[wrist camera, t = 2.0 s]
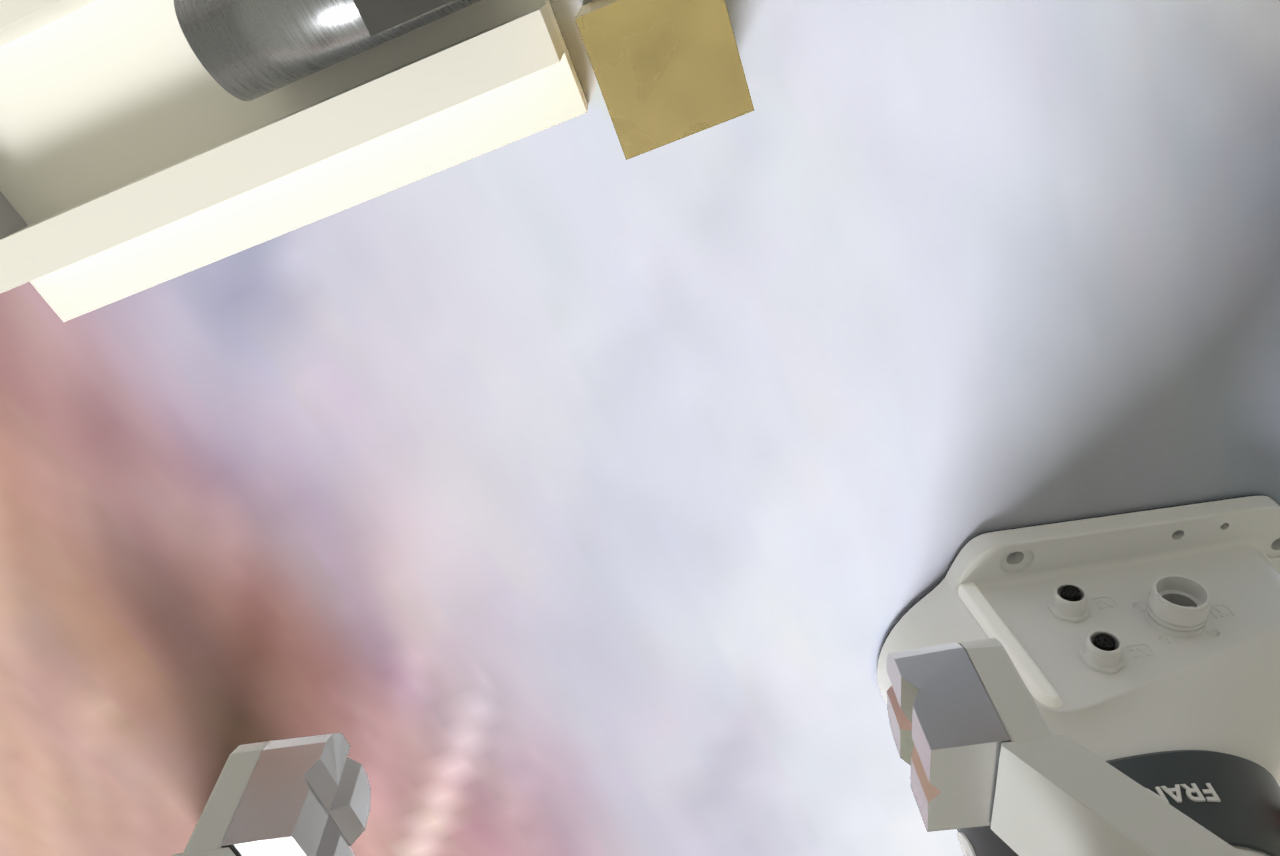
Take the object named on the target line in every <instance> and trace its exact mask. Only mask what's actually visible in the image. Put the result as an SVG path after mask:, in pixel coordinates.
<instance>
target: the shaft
mask: <svg viewBox="0 0 1280 856" xmlns="http://www.w3.org/2000/svg"><path fill="white" fill-rule="evenodd" d="M479 1H481V0H174V8H175V12H176V16H177V19H178V22H179V25H180V27H181V29H182V32H183V34H184V36H185V38H186V40H187V42H188V44H189V45H190V47H191V49H192V50H193V52H194V54H195V55H196V57H197V58H198V60H199V61H200V62H201V64H202V65H203V67H204V68H205V69H206V70H207V72H208V73H209V74H210V75H211V76H212V78H213V79H214V80H215V81H216V82H217V83H218V84H219V85H220V86H221V87H222V88H224V89H225V90H226V91H227V92H228V93H230V94H231V95H233V96H234V97H236V98H238V99H240V100H243V101H252V100H254V99H256V98H259V97H261V96H263V95H266V94H268V93H270V92H272V91H275V90H277V89H279V88H282V87H284V86H286V85H289V84H291V83H293V82H295V81H298V80H300V79H302V78H305V77H307V76H309V75H311V74H314V73H316V72H318V71H321V70H323V69H325V68H328V67H330V66H332V65H334V64H337V63H339V62H341V61H344V60H346V59H348V58H351V57H353V56H355V55H357V54H360V53H362V52H364V51H367V50H369V49H371V48H374V47H376V46H378V45H380V44H383V43H385V42H387V41H390V40H392V39H394V38H396V37H399V36H401V35H403V34H406V33H408V32H410V31H413V30H415V29H417V28H419V27H422V26H424V25H426V24H429V23H431V22H433V21H436V20H438V19H440V18H442V17H445V16H447V15H449V14H452V13H454V12H456V11H459V10H461V9H463V8H465V7H468V6H470V5H472V4H475V3H477V2H479Z"/></svg>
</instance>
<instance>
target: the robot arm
mask: <svg viewBox="0 0 1280 856" xmlns="http://www.w3.org/2000/svg"><path fill="white" fill-rule="evenodd" d="M1013 552H1014V553H1013ZM1011 553H1012V554H1011ZM877 681H878V686H879V690H880V693H881V695H882V697H883V699H884V701H885V703H886V704H887V709H888V715H889V721H890V726H891V730H892V733H893V737H894V740H895V743H896V746H897V749H898V752H899V755H900V758H902V759H903V760H904V761H905V762H907V763H908V764H909V765H911V789H912V791H913V794H914V797H915V800H916V802H917V805H918V808H919V810H920V813H921V816H922V819H923V821H924V824H925V827H926V830H927V832H930V831H940V830H950V829H957V830H958V833H957V837H958V840H959V843H960V846H961V849H962V852H963V854H964V856H1280V506H1279V505H1278V504H1277V503H1276V502H1275V501H1274V500H1273V499H1271V498H1270V497H1268V496H1249V497H1242V498H1234V499H1226V500H1219V501H1212V502H1205V503H1198V504H1190V505H1183V506H1176V507H1169V508H1162V509H1154V510H1147V511H1140V512H1133V513H1126V514H1118V515H1111V516H1104V517H1097V518H1090V519H1082V520H1075V521H1068V522H1061V523H1054V524H1046V525H1039V526H1032V527H1025V528H1017V529H1010V530H1003V531H996V532H989V533H985V534H982V535H979V536H977V537H975V538H973V539H972V540H970V541H969V542H968V543H967V544H966V545H965V546H964V547H963V549H962V550H961V551H960V553H959V554H958V556H957V557H956V559H955V560H954V562H953V564H952V565H951V567H950V569H949V571H948V573H947V574H946V576H945V578H944V579H943V580H942V581H941V582H940V584H939V585H938V586H936V587H935V588H934V589H933V590H932V591H931V592H930V593H928V594H927V595H926V596H925V597H924V598H922V599H921V600H920V601H919V602H918V603H916V604H915V605H914V606H913V607H912V608H911V609H910V610H909V611H908V612H907V613H906V614H905V615H904V616H903V617H902V618H901V619H900V620H899V622H898V623H897V624H896V625H895V627H894V628H893V629H892V631H891V632H890V634H889V636H888V637H887V639H886V641H885V643H884V645H883V648H882V650H881V653H880V656H879V660H878V665H877ZM349 749H350V745H349V743H348V742H347V740H346V739H345V737H344V736H343V734H342V733H335V734H326V735H317V736H308V737H299V738H291V739H282V740H273V741H266V742H258V743H251V744H243V745H239V746H238V747H237V748H236V749H235V750H234V751H233V752H232V753H231V754H230V755H229V757H228V759H227V761H226V763H225V765H224V767H223V770H222V772H221V774H220V776H219V778H218V780H217V782H216V784H215V786H214V789H213V791H212V793H211V795H210V797H209V799H208V801H207V803H206V806H205V808H204V810H203V812H202V814H201V816H200V818H199V820H198V822H197V825H196V827H195V829H194V831H193V833H192V835H191V837H190V839H189V841H188V844H187V846H186V848H185V850H184V852H183V853H179V854H173V855H172V856H355V854H354V852H353V850H352V847H351V845H352V844H353V843H354V842H355V840H356V839H357V838H358V837H359V836H360V835H361V834H362V832H363V831H364V830H365V828H366V824H367V820H368V816H369V812H370V796H371V788H370V784H369V780H368V776H367V774H366V772H365V770H364V768H363V766H362V765H361V764H359V763H357V762H356V761H354V760H352V759H350V758H348V757H347V756H348V753H349Z"/></svg>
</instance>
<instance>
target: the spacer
mask: <svg viewBox="0 0 1280 856" xmlns="http://www.w3.org/2000/svg"><path fill="white" fill-rule="evenodd" d="M575 21H576V24H577V26H578V29H579V32H580V34H581V37H582V40H583V43H584V45H585V48H586V51H587V54H588V56H589V59H590V62H591V65H592V67H593V70H594V73H595V76H596V78H597V81H598V84H599V87H600V89H601V92H602V95H603V97H604V100H605V103H606V106H607V108H608V111H609V114H610V117H611V119H612V122H613V125H614V128H615V130H616V133H617V136H618V139H619V141H620V144H621V147H622V149H623V152H624V155H625V158H626V160H627V159H630V158H632V157H635V156H637V155H640V154H643V153H645V152H648V151H650V150H653V149H656V148H658V147H661V146H663V145H666V144H669V143H671V142H674V141H676V140H679V139H681V138H684V137H687V136H689V135H692V134H694V133H697V132H700V131H702V130H705V129H707V128H710V127H712V126H715V125H718V124H720V123H723V122H725V121H728V120H731V119H733V118H736V117H738V116H741V115H743V114H746V113H749V112H751V111H754V108H753V104H752V100H751V96H750V93H749V89H748V85H747V82H746V78H745V74H744V71H743V67H742V63H741V59H740V56H739V52H738V48H737V45H736V41H735V37H734V34H733V30H732V26H731V22H730V19H729V15H728V11H727V8H726V4H725V0H594V1H592V2H589V3H587V4H585V5H582V7H581V9H580V11H579V12H578V14H577V16H576V18H575Z"/></svg>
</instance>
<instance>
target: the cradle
mask: <svg viewBox="0 0 1280 856" xmlns="http://www.w3.org/2000/svg"><path fill="white" fill-rule="evenodd" d="M587 110H588V103H587V100H586V98H585V95H584V92H583V90H582V87H581V84H580V82H579V79H578V76H577V74H576V71H575V68H574V66H573V63H572V60H571V58H570V55H569V52H568V50H567V47H566V45H565V42H564V39H563V37H562V34H561V31H560V29H559V26H558V23H557V21H556V18H555V15H554V13H553V10H552V7H551V5H550V2H549V0H481V1H479V2H477V3H475V4H472V5H470V6H468V7H465V8H463V9H461V10H459V11H456V12H454V13H452V14H449V15H447V16H445V17H442V18H440V19H438V20H436V21H433V22H431V23H429V24H426V25H424V26H422V27H419V28H417V29H415V30H413V31H410V32H408V33H406V34H403V35H401V36H399V37H396V38H394V39H392V40H390V41H387V42H385V43H383V44H380V45H378V46H376V47H374V48H371V49H369V50H367V51H364V52H362V53H360V54H357V55H355V56H353V57H351V58H348V59H346V60H344V61H341V62H339V63H337V64H334V65H332V66H330V67H328V68H325V69H323V70H321V71H318V72H316V73H314V74H311V75H309V76H307V77H305V78H302V79H300V80H298V81H295V82H293V83H291V84H289V85H286V86H284V87H282V88H279V89H277V90H275V91H272V92H270V93H268V94H266V95H263V96H261V97H259V98H256V99H254V100H252V101H243V100H240V99H238V98H236V97H234V96H233V95H231V94H230V93H228V92H227V91H226V90H225V89H224V88H222V87H221V86H220V85H219V84H218V83H217V82H216V81H215V80H214V79H213V78H212V76H211V75H210V74H209V73H208V72H207V70H206V69H205V68H204V67H203V65H202V64H201V62H200V61H199V60H198V58H197V57H196V55H195V54H194V52H193V50H192V49H191V47H190V45H189V44H188V42H187V40H186V38H185V36H184V34H183V32H182V29H181V27H180V25H179V22H178V19H177V16H176V12H175V8H174V0H0V293H3V292H5V291H8V290H10V289H13V288H15V287H17V286H20V285H22V284H25V283H27V282H29V281H30V283H31V284H32V285H33V286H34V287H35V289H36V290H37V291H38V292H39V293H40V295H41V296H42V297H43V298H44V299H45V301H46V302H47V303H48V304H49V305H50V307H51V308H52V309H53V310H54V311H55V313H56V314H57V315H58V316H59V317H60V319H61V320H62V321H63V322H65V321H68V320H70V319H73V318H75V317H78V316H80V315H83V314H85V313H88V312H90V311H93V310H95V309H98V308H100V307H103V306H105V305H108V304H110V303H113V302H115V301H118V300H120V299H123V298H125V297H128V296H130V295H133V294H135V293H138V292H140V291H143V290H145V289H148V288H150V287H153V286H155V285H158V284H160V283H163V282H165V281H168V280H170V279H173V278H175V277H178V276H180V275H183V274H185V273H188V272H190V271H193V270H195V269H198V268H200V267H203V266H205V265H208V264H210V263H213V262H215V261H218V260H220V259H223V258H225V257H228V256H230V255H233V254H235V253H238V252H240V251H243V250H245V249H248V248H250V247H253V246H255V245H258V244H260V243H263V242H265V241H268V240H270V239H273V238H275V237H278V236H280V235H283V234H285V233H288V232H290V231H293V230H295V229H298V228H300V227H303V226H305V225H308V224H310V223H313V222H315V221H318V220H320V219H323V218H325V217H328V216H330V215H332V214H335V213H337V212H340V211H342V210H345V209H347V208H350V207H352V206H355V205H357V204H360V203H362V202H365V201H367V200H370V199H372V198H375V197H377V196H380V195H382V194H385V193H387V192H390V191H392V190H395V189H397V188H400V187H402V186H405V185H407V184H410V183H412V182H415V181H417V180H420V179H422V178H425V177H427V176H430V175H432V174H435V173H437V172H440V171H442V170H445V169H447V168H450V167H452V166H455V165H457V164H460V163H462V162H465V161H467V160H470V159H472V158H475V157H477V156H480V155H482V154H485V153H487V152H490V151H492V150H495V149H497V148H500V147H502V146H505V145H507V144H510V143H512V142H515V141H517V140H520V139H522V138H525V137H527V136H530V135H532V134H535V133H537V132H540V131H542V130H545V129H547V128H550V127H552V126H555V125H557V124H560V123H562V122H565V121H567V120H570V119H572V118H575V117H577V116H580V115H582V114H585V113H587Z"/></svg>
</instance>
